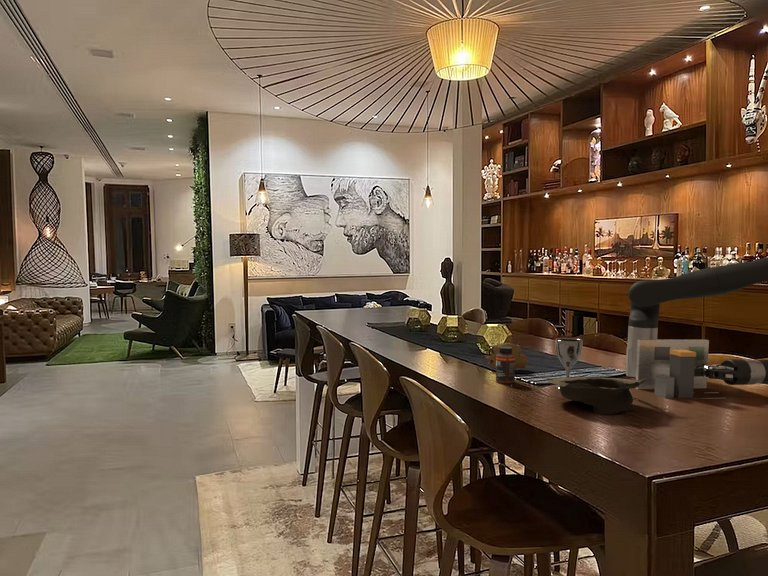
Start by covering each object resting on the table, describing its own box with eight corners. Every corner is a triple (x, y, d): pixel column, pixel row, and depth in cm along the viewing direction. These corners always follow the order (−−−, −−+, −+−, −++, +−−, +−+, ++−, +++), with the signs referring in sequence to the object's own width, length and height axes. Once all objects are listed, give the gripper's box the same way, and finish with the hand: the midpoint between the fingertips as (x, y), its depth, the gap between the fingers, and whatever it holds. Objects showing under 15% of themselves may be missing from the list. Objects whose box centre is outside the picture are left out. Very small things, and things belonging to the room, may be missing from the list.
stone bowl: (638, 423, 141) (636, 385, 140) (536, 414, 154) (534, 380, 154) (652, 401, 162) (650, 368, 161) (561, 395, 175) (560, 365, 175)
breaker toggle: (682, 393, 170) (684, 349, 169) (693, 397, 165) (696, 352, 164) (667, 394, 169) (669, 349, 168) (678, 397, 164) (680, 352, 164)
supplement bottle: (516, 381, 187) (517, 346, 187) (512, 385, 182) (513, 349, 181) (497, 379, 190) (499, 345, 189) (493, 383, 184) (494, 347, 184)
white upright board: (703, 391, 180) (706, 339, 179) (741, 403, 165) (744, 347, 164) (635, 391, 176) (637, 339, 175) (667, 404, 161) (670, 347, 160)
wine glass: (580, 386, 182) (582, 338, 182) (580, 391, 175) (582, 342, 174) (554, 384, 185) (556, 337, 184) (553, 389, 178) (554, 340, 177)
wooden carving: (522, 368, 211) (523, 341, 211) (529, 370, 207) (530, 342, 206) (481, 370, 206) (482, 342, 206) (488, 372, 202) (489, 344, 201)
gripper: (726, 355, 176) (674, 355, 173) (761, 363, 163) (705, 363, 160) (725, 379, 177) (673, 380, 174) (759, 389, 163) (704, 390, 161)
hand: (688, 372), depth 167 cm, fingers closed
